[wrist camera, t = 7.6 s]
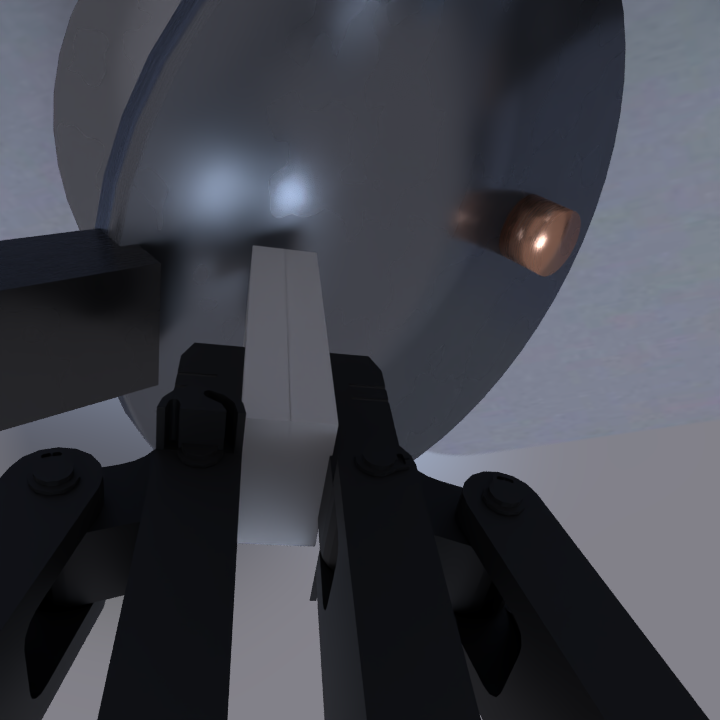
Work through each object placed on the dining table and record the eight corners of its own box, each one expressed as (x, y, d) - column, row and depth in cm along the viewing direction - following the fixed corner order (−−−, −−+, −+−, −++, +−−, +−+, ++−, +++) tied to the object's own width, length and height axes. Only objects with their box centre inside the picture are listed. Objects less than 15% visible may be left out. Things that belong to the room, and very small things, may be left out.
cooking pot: (107, -294, 27) (21, -402, 18) (580, -178, 31) (712, -218, 21) (117, 311, 41) (71, 426, 32) (440, 342, 45) (483, 453, 35)
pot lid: (-337, -447, 8) (-312, -505, 6) (667, -86, 23) (749, -75, 22) (-65, 659, 18) (-29, 746, 16) (502, 397, 34) (549, 429, 32)
